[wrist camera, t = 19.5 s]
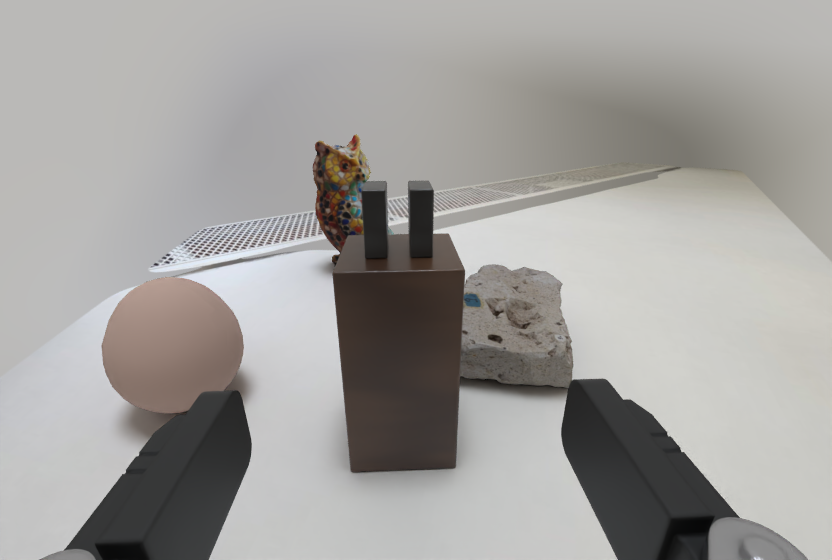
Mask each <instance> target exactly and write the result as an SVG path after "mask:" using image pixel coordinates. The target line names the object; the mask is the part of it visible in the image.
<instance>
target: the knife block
mask: <svg viewBox="0 0 832 560" xmlns="http://www.w3.org/2000/svg"><path fill="white" fill-rule="evenodd" d="M361 199H362V216H363V233H364V235H348V237H347V239H346V242H345V244H344V246H343V249H342V251H341V254H340V256H339V259H338V261H337V264H336V266H335V268H334V271H333V284H334V294H335V305H336V316H337V327H338V338H339V348H340V359H341V370H342V381H343V392H344V402H345V413H346V424H347V435H348V446H349V456H350V467H351V472H359V471H383V470H408V469H433V468H455V466H456V449H457V428H458V407H459V386H460V365H461V344H462V324H463V303H464V282H465V269H464V267H463V265H462V263H461V260H460V258H459V256H458V254H457V251H456V249H455V247H454V245H453V242H452V240H451V238H450V236H449V234H433V207H434V190H433V188H432V186H431V184H430V182H429V181H409V182H408V213H409V234H400V235H399V234H397V235H388V207H387V183H386V181H366V182H365V184H364V186H363V188H362V190H361Z"/></svg>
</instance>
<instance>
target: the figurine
mask: <svg viewBox="0 0 832 560" xmlns="http://www.w3.org/2000/svg"><path fill="white" fill-rule="evenodd" d="M315 149H316V151H317V155H316V158H315V162H314V164H313V175H314V181H315V184H316V186H317V189H318V190H317V199H316V216H317V219H318V221H319V223H320V227H321V229H322V231H323V232H324V234H325V236H326V237H327V239H328V240H329V241H330V242H331V244H332V245H333V246H334V247H335V248H336V249H337V250H338V251H339V252H340V254H341V251H342V249H343V246H344V244H345V242H346V239H347V237H348V235H364V233H363V216H362V199H361V190H362V188H363V186H364V184H365V182H366V181H367V180H368V179H369V175H370V173H371V172H370V168H369V164H368V161H367V159H366V157H365V155H364V154H363V152H362V151H361V150H360V138H359V136H358V135H357V134H356V135H354V137H353V139H352V141H350V142H349V144H348V145H347V147H342V146H337V145H334V146H332V147H331V146H329V145H328V144H325V143H324V142H323V141H318V142H317V143H316V144H315ZM388 235H394V233H393V232H392V231H391V229H390V228H389V227H388ZM340 254H339V255H334V256H333V257H332V262H335V266H336V264H337V261H338V259H339V256H340Z"/></svg>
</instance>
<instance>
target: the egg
mask: <svg viewBox="0 0 832 560" xmlns="http://www.w3.org/2000/svg"><path fill="white" fill-rule="evenodd" d="M243 349H244V345H243V335H242V332H241V329H240V326H239V323H238V320H237V319H236V317H235V315H234V313H233V312H232V310H231V309H230V308H229V307H228V305H227V304H226V303H225V302H224V301H223V300H222V299H221V298H220V297H219V296H218V295H217V294H215V293H214V292H213V291H212V290H210V289H209V288H207V287H206V286H204V285H202V284H199V283H197V282H194V281H192V280H189V279H184V278H173V277H165V278H159V279H155V280H151V281H148V282H146V283H144V284H142V285H140V286H138V287H136V288H135V289H133V290H132V291H130V292H129V293H128V294H127V295H126V296H125V297H124V298H123V299H122V300H121V301H120V302H119V303H118V305H117V307H116V308H115V310H114V312H113V314H112V315H111V317H110V319H109V322H108V325H107V329H106V332H105V336H104V339H103V343H102V356H103V365H104V368H105V372H106V375H107V377H108V379H109V381H110V383H111V385H112V387H113V388H114V389H115V390H116V391H117V392H118V393H119V394H120V395H121V396H122V398H123V399H125V400H126V401H128V402H130V403H131V404H133V405H134V406H137V407H139V408H142V409H145V410H148V411H153V412H158V413H181V412H185V411H188V410H189V409H190V407H191V406H192V405H193V403H194V402H195V400H196V399H197V398H198V396H199V395H200V394H201V393H202V392H206V391H224V390H225V389H226V388H227V386H228V385H229V384H230V383H231V382H232V380H233V378H234V377H235V375H236V373H237V371H238V369H239V367H240V364H241V360H242V356H243Z"/></svg>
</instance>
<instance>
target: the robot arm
mask: <svg viewBox="0 0 832 560" xmlns="http://www.w3.org/2000/svg"><path fill="white" fill-rule="evenodd" d="M561 436H562V443H563V447H564V451H565V454H566V456H567V458H568V460H569V462H570V464H571V466H572V468H573V470H574V472H575V474H576V476H577V478H578V480H579V482H580V484H581V486H582V488H583V490H584V492H585V494H586V496H587V498H588V500H589V502H590V504H591V506H592V508H593V510H594V512H595V514H596V516H597V518H598V520H599V522H600V524H601V526H602V528H603V530H604V532H605V534H606V537H607V539H608V541H609V543H610V545H611V547H612V549H613V551H614V553H615V555H616V557H617V559H618V560H808V559H807V558H806V557H805V556H804V554H802V553H801V552H800V551H799V550H798V549H797V548H796V547H795V546H794V545H792V544H791V543H790V542H789V541H787V540H786V539H785V538H783V537H782V536H780V535H779V534H777V533H775V532H774V531H772V530H770V529H769V528H766V527H764V526H762V525H760V524H758V523H755V522H752V521H749V520H746V519H742V518H740V517H739V516H738V515H737V514H736V513H735V512H734V511H733V509H732V508H731V507H730V506H729V505H728V504H727V502H726V501H725V500H724V499H723V498H722V497H721V495H720V494H719V493H718V492H717V491H716V489H715V488H714V487H713V486H712V485H711V484H710V482H709V481H708V480H707V479H706V478H705V477H704V475H703V474H702V473H701V472H700V471H699V469H698V468H697V467H696V466H695V465H694V464H693V462H692V461H691V460H690V459H689V458H688V457H687V455H686V454H685V453H684V452H681V450H680V447H679V446H678V445H677V444H676V442H675V441H674V440H673V439H672V438H671V437H670V436H669V437H668V435H667V432H666V431H665V429H664V428H663V427H662V426H661V425H660V424H659V422H658V421H657V420H656V419H655V418H654V417H653V415H652V414H650V413H649V412H647V411H646V410H645V409H643V408H642V407H640V406H639V405H637V404H636V403H635V402H633V401H632V400H623V399H622V398H621V397H620V395H619V394H618V393H617V392H616V390H615V389H614V388H613V386H612V385H611V384H610V383H609V382H608V381H607V380H606V379H580V380H572V381H571V382H570V385H569V388H568V394H567V400H566V405H565V411H564V417H563V422H562V429H561ZM251 448H252V443H251V436H250V432H249V427H248V423H247V419H246V414H245V410H244V405H243V401H242V397H241V394H240V393H239V392H238V391H236V390H234V391H206V392H202V393H201V394H200V395H199V396H198V398H197V399H196V400H195V402H194V403H193V405H192V406H191V407H190V409H189V410H188V412H187V413H186V414H185V415H176V416H175V417H174V418H173V419H171V420H170V421H169V422H167V423H166V424H165V425H164V426H162V427H161V428H160V429H158V430H157V431H156V432H155V433H154V434H153V435H152V437H151V438H150V439H149V441H148V442H147V443H146V444H145V446H144V447H143V448H142V450H141V451H140V452H139V456H138V457H135V459H134V460H133V461H132V463H131V464H130V465H129V467H128V468H127V469H126V473H125V474H122V476H121V477H120V478H119V480H118V481H117V482H116V484H115V485H114V486H113V488H112V489H111V490H110V491H109V493H108V494H107V495H106V497H105V498H104V499H103V501H102V502H101V503H100V505H99V506H98V507H97V508H96V510H95V511H94V512H93V514H92V515H91V516H90V518H89V519H88V520H87V521H86V523H85V524H84V525H83V527H82V528H81V529H80V531H79V532H78V533H77V535H76V536H75V537H74V538H73V540H72V541H71V542H70V544H69V545H68V546H67V547H66V549H65V550H64V551H60V552H57V553H54V554H51V555H49V556H46V557H44V558H42V559H40V560H209V557H210V555H211V553H212V550H213V548H214V546H215V543H216V541H217V539H218V536H219V534H220V532H221V529H222V527H223V524H224V522H225V520H226V517H227V515H228V513H229V510H230V508H231V506H232V503H233V501H234V499H235V496H236V494H237V492H238V489H239V487H240V485H241V482H242V480H243V477H244V475H245V473H246V470H247V468H248V465H249V462H250V457H251Z"/></svg>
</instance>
